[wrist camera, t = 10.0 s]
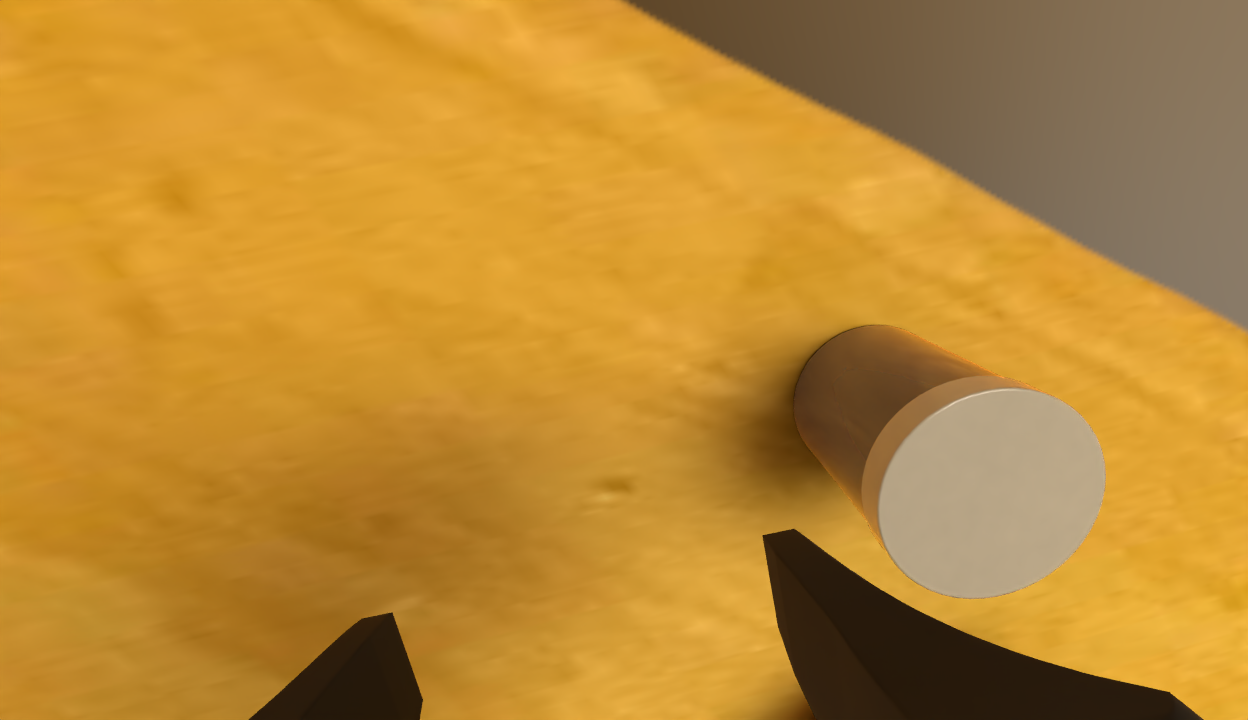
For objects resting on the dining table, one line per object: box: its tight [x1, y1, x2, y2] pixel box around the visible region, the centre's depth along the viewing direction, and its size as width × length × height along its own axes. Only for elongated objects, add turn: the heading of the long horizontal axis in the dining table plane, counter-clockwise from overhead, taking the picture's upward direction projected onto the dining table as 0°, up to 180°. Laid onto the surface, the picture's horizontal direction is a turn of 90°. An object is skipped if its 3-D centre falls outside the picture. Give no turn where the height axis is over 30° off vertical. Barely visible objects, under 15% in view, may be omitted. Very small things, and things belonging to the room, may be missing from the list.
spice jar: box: [793, 325, 1106, 599], centre depth 18 cm, size 5×5×7 cm
